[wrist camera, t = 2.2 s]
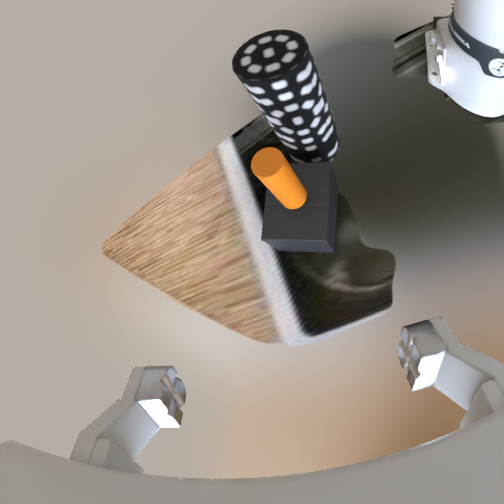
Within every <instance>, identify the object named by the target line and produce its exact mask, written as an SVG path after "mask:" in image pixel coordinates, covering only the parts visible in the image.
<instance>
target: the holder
mask: <svg viewBox="0 0 504 504" xmlns="http://www.w3.org/2000/svg"><path fill="white" fill-rule="evenodd" d="M289 165H290V166H291V168H292V169H293V171H294V172H295V174H296V176H297V177H298V179H299V180H300V182H301V184H302V185H303V187H304V188H305V190H306V193H307V198H306V201H305V203H304V204H303V205H302V206H301V207H299V208H297V209H288V208H286V207H285V206H283V204H282V203H281V202H280V201H279V200H278V199H277V198H276V197H275V196H274V195H273V193H272V192H271V191H270V190H269V189H268V188H266V198H265V209H264V218H263V228H262V237H261V239H262V240H263V241H265V242H266V243H268V244H269V245H271V246H273V247H274V248H276V249H277V250H279V251H301V252H329V253H335V241H336V219H337V187H338V185H337V181H336V178H335V175H334V173H333V170H332V167H331V164H330V162H311V163H291V164H289Z"/></svg>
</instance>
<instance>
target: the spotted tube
mask: <svg viewBox="0 0 504 504" xmlns="http://www.w3.org/2000/svg"><path fill="white" fill-rule="evenodd" d="M232 68H233V71H234V72H235V73H236V75H237V76H238V78H239V79H240V81H241V82H242V83H243V85H244V86H245V88H246V89H247V91H248V92H249V93H250V95H251V96H252V98H253V99H254V101H255V102H256V104H257V105H258V107H259V108H260V110H261V111H262V113H263V114H264V116H265V117H266V119H267V120H268V122H269V123H270V125H271V127H272V128H273V130H274V131H275V133H276V134H277V136H278V137H279V139H280V141H281V142H282V144H283V145H284V147H285V149H286V150H287V152H288V153H289V155H290V157H291V158H292V159H293V160H294V162H296V163H311V162H330V161H331V160H332V159H333V158H334V157H335V155H336V154H337V152H338V150H339V146H340V140H339V136H338V132H337V129H336V126H335V122H334V119H333V115H332V112H331V109H330V106H329V103H328V100H327V96H326V93H325V90H324V87H323V84H322V82H321V79H320V76H319V73H318V70H317V67H316V65H315V62H314V59H313V56H312V54H311V51H310V49H309V46H308V43H307V41H306V39H305V38H304V37H303V36H302V35H301V34H299V33H297V32H294V31H291V30H273V31H268V32H265V33H262V34H259V35H257V36H255V37H253V38H251V39H250V40H248V41H247V42H245V43H244V44H243V45H242V46H241V47H240V48H239V49H238V51H237V52H236V53H235V55H234V57H233V61H232Z"/></svg>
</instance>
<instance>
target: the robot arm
mask: <svg viewBox="0 0 504 504" xmlns="http://www.w3.org/2000/svg"><path fill="white" fill-rule="evenodd" d="M452 5H454V7H452V9H454V10H453V11H452V13H451V15H450V17H434V28H435V29H434V30H430V31H427V32H426V33H425V44H426V57H427V76H428V82H429V83H430V84H432V85H433V86H435V87H437V88H439V89H441V90H443V91H444V92H445V93H446V94H447V95H449V96H450V97H451V98H452V99H453V100H454V101H455V102H456V103H457V104H459V105H460V106H462V107H463V108H465V109H467V110H468V111H470V112H473V113H475V114H478V115H481V116H486V117H498V116H501V115H503V114H504V0H454V4H452ZM400 335H401V337H402V339H403V340H402V341H401V342H400V344H399V349H398V352H399V359H400V363H401V365H402V368H404V369H405V370H407V371H408V374H407V379H408V382H409V383H410V386H411V389H412V391H415V390H419V389H422V388H425V387H428V386H432V385H434V387H435V388H437V389H438V390H440V391H441V392H442V393H444V394H445V395H446V396H448V397H449V398H450V399H452V400H453V401H454V402H456V403H457V404H459V405H460V406H461V407H463V408H464V409H465V410H466V411H467V412H466V414H465V415H464V417H463V419H462V420H461V422H460V424H459V425H460V428H461V429H459V430H456V431H454V432H452V433H449V434H447V435H444V436H442V437H439V438H437V439H434V440H432V441H429V442H426V443H424V444H421V445H418V446H415V447H413V448H409V449H406V450H403V451H400V452H397V453H394V454H390V455H387V456H383V457H380V458H376V459H373V460H369V461H364V462H360V463H356V464H352V465H347V466H343V467H337V468H332V469H327V470H321V471H315V472H309V473H302V474H293V475H285V476H275V477H262V478H245V479H196V478H178V477H165V476H155V475H147V474H143V469H142V468H141V467H140V466H139V465H138V464H137V463H135V462H134V460H135V458H136V457H137V456H138V455H139V453H140V452H141V451H142V450H143V449H144V447H145V446H146V445H147V444H148V442H149V441H150V440H151V439H152V438H153V436H154V435H155V434H156V433H157V431H158V430H159V429H160V427H180V425H181V420H182V415H183V412H182V410H181V409H180V407H181V406H182V405H183V404H184V403H185V398H186V392H185V387H184V384H183V382H182V380H181V379H179V378H177V377H176V373H177V372H176V370H175V369H174V367H173V366H147V367H135V368H134V369H133V370H132V373H131V375H130V378H129V381H128V383H127V386H126V389H125V391H124V394H123V397H122V400H117V401H116V402H115V403H114V404H113V405H112V406H111V407H109V408H108V409H107V410H106V411H105V412H104V413H102V414H101V415H100V416H99V417H98V418H97V419H96V420H95V421H93V422H92V423H91V424H90V425H89V426H88V427H86V428H85V429H84V430H83V431H82V432H81V433H80V434H79V436H78V438H77V441H76V443H75V446H74V449H73V451H72V454H71V457H70V459H66V458H63V457H59V456H56V455H52V454H49V453H46V452H43V451H40V450H37V449H34V448H31V447H28V446H26V445H23V444H21V443H18V442H15V441H12V440H8V441H6V442H4V443H2V444H0V504H504V363H501V362H500V361H498V360H496V359H493V358H491V357H489V356H487V355H485V354H483V353H481V352H479V351H477V350H475V349H473V348H471V347H469V346H467V345H465V344H463V345H460V343H459V342H458V340H457V339H456V337H455V336H454V334H453V333H452V331H451V330H450V328H449V327H448V326H447V324H446V323H445V321H444V320H443V318H442V317H441V316H437V317H434V318H431V319H428V320H424V321H421V322H417V323H414V324H411V325H407V326H404V327H402V329H401V334H400Z"/></svg>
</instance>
